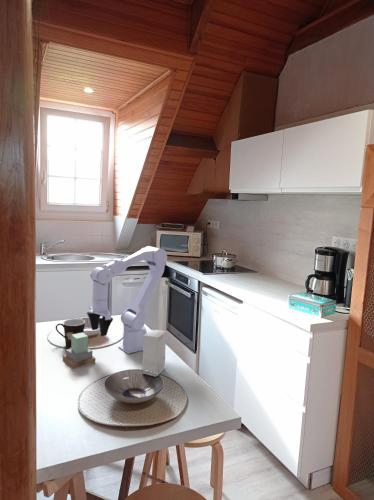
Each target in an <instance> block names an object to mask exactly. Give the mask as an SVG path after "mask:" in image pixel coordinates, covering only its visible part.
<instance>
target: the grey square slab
mask: <svg viewBox="0 0 374 500" xmlns="http://www.w3.org/2000/svg"><path fill="white" fill-rule="evenodd" d="M65 354H66V357H68V358H70V359H71V360H73V361H74V362H79V361H82V360H85V359H88V358H91V357H92V356H93V349H90V348H88V351H87V352H83V353H79V354H76V353H74V352H73V351H72V350H71V348H68V349H65Z"/></svg>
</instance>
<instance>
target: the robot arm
mask: <svg viewBox="0 0 374 500" xmlns="http://www.w3.org/2000/svg"><path fill="white" fill-rule="evenodd" d="M167 260H168V255H167V251H166V250H165V249H164V248H159V247H156V246H155V247H154V246H151V245H147V246H145V247H141V249H140V250H138V251H136V252H134V253H133V254H131V255H129V256H127V257H126V258H123V259H121V258H114V259H113V261H111V262H108V263H106V264H105V263H104V264H102V266H97V267H94V268H93V270H92V271H91V273H90V275H89V276H90V278H91V280H92V304H89V311H87V312H86V315H87V316H88V318H89V322H90V327H91V330H92V331H95V330H98V328H99V333H100V337H106V336H107V335H108V331H109V330H110V329H109V328H110V326H111V323H112V322H113V320H114V317H112V314H111V312H110V311H109V307H108V301H109V299H108V298H109V297H108V296H109V284H110V282H111V280H112V279H113V278H114V277H117V276H119V275H121V274H123V273H125V272H126V270H127V268H128V267H131V266H133V265H136V264H138V263H140V262H142V261H144V262H146V264H147V265H148V267H149V272H148V274H147V276H146V277H145V280H144V282H143V284H142V285H141V287H140V290H139V292H138V294H137V295H136V298H135V300H134V301H133V303H132V304H130V305H128V306H127V308H126V310H124V311H123V312H122V314H121V316H120V321H121V323H122V324H123V325H122V326H123V333H122V335H123V337H122V345H119V346H118V348H119V349H121V350H123V352H125V353H127V354H128V355H129V354H132V353H136V352H137V353H138V352H141V351H143V340H144V335H145V334H147V333H148V331H147V329H146V328H145V323H146V318H147V316H148V315H147V311H146V309H147V306H148V304H149V302H150V301H151V298H152V296H153V295H154V294H155V293H154V292H155V290H156V288H157V286H158V284H159V282H160V280H161V278H162V276H163V274H164V272H165V268H166V267H165V266H166V262H167Z"/></svg>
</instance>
